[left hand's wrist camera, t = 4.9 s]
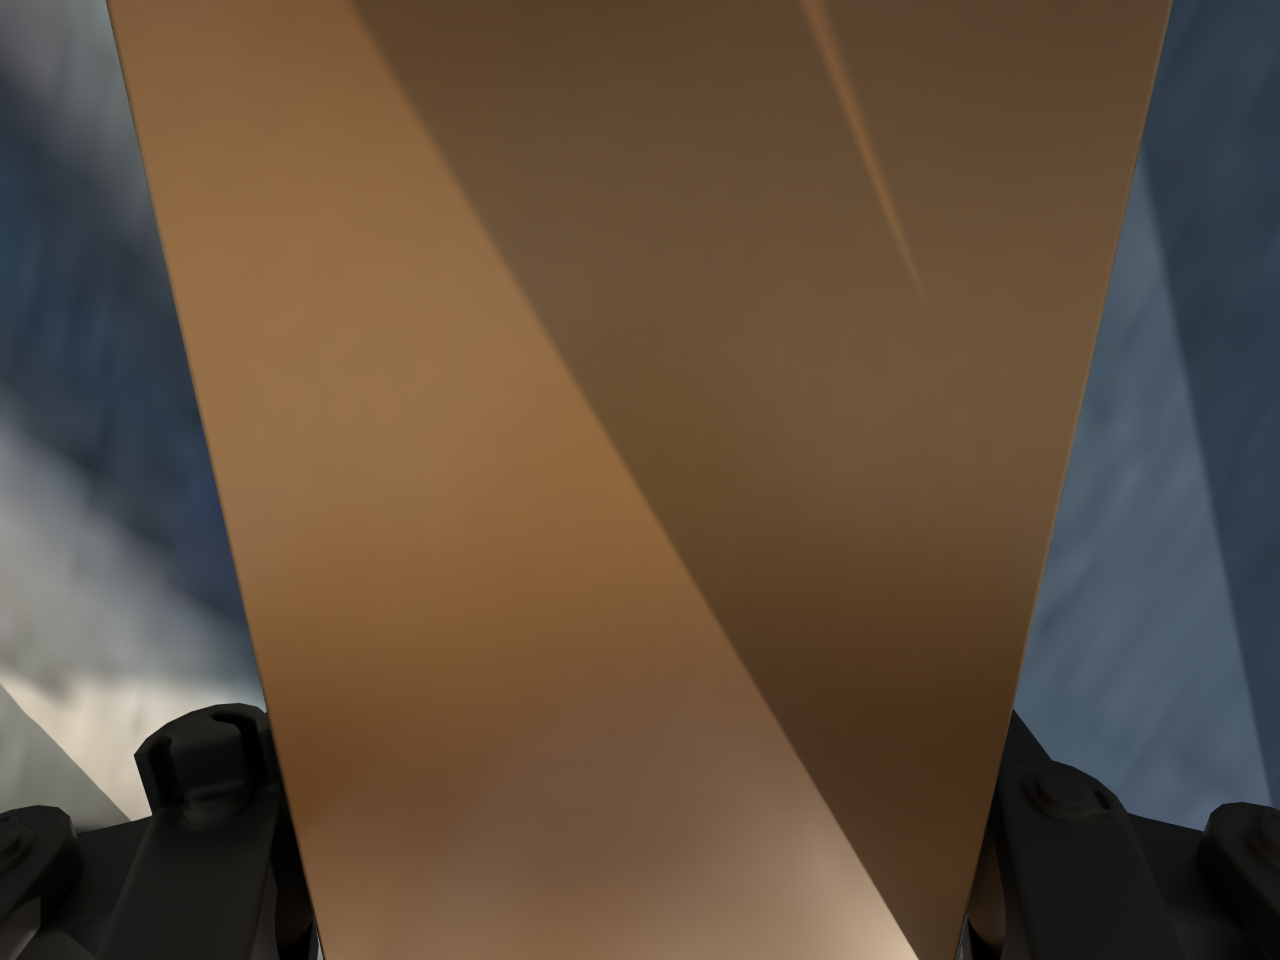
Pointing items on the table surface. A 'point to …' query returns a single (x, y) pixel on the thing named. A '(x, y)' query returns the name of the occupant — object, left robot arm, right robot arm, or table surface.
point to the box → (639, 439)
